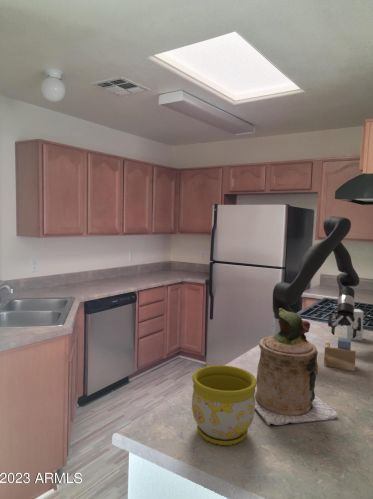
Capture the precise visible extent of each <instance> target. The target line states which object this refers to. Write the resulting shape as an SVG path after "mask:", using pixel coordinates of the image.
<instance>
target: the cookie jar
mask: <svg viewBox="0 0 373 499" xmlns="http://www.w3.org/2000/svg"><path fill="white" fill-rule="evenodd" d="M278 322H279V325H280V332H279V333H277V334H276V335H275V336H271V335H270V336H267V337H263V338H260V341H259V343H258V347H259V349H260V353H259V354H260V355H259V360H258V364H257V373H256V377H255V378H256V382H257V384H256V387H255V393H254V397H255V411H257V413H258V414H259V415H260V416H261V417H262V419H263V421H265V423H266V425H268V426H270V425H271V424H272V425H275V426H283V425H286V424H301V423H308V422H318V421H329V420H333V419H336V418H337V417H338V413H337V411H336V410H335V409H334V407H331V406H329V404H326V403H325V402H324V401H323V400H322V399H321V398H320V397H318V396H317V395H316V393H315V388H316V378H317V375H318V374H319V371H318V370H319V365H318V350H317V347H316V346H315V344H314V343H311V342H310V341H309V340H308V339H307V336H306V335H305V334H306V333H309V332H310V327H311V322H310V321H308V320H305V319H303V318H302V316H300V314H298V313H296V312H294V313H292V312H288V311H285V310H284V309H282V308H279V321H278Z"/></svg>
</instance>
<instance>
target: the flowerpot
mask: <svg viewBox="0 0 373 499" xmlns="http://www.w3.org/2000/svg"><path fill="white" fill-rule="evenodd" d="M192 374H193V375H192V382H193V387H192V388H193V392H192V396H191V397H192V398H191V410H192V411H191V412H192V415H193V418H194V420H195V423H196V424H197V425H196V426H197V427H196V429H197V431H198V434H200V435H201V437H202V439H204V440H205V441H207V442H208V441H209V442H208V443H210V442H211V443H210V444H213V443H214V444H213V445H216V444H218V445H217V446H221V445H229V446H233V445H232V444H234V445H237V444H239V443H241V442H242V441H243V440H244V439H245V438H246V437H247V435H248V433H249V432H248V429H249V428H250V426H251V425H252V422H253V420H254V417H255V411H256V409H255V397H254V393H255V387H256V384H257V382H256V378H257V377H255V375H253V373H251V372H250V371H248V370H246V369H243V368H241V367H237V366H233V365H223V364H219V365H218V364H217V365H215V364H213V365H208V366H205V367H204V366H203V367H201V368H198V369H196V370H195V371H194V373H192ZM241 440H242V441H241ZM238 442H239V443H238ZM236 443H237V444H236Z"/></svg>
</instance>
